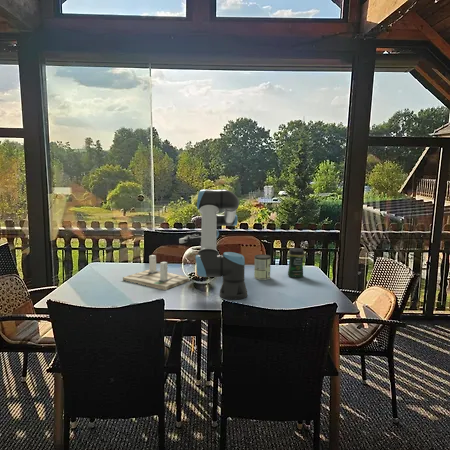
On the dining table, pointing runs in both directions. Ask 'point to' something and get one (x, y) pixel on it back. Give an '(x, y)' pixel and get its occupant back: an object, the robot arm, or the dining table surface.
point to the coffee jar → (296, 262)
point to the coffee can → (262, 267)
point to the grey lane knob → (152, 264)
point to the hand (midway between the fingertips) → (180, 241)
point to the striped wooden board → (156, 279)
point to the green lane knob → (163, 272)
